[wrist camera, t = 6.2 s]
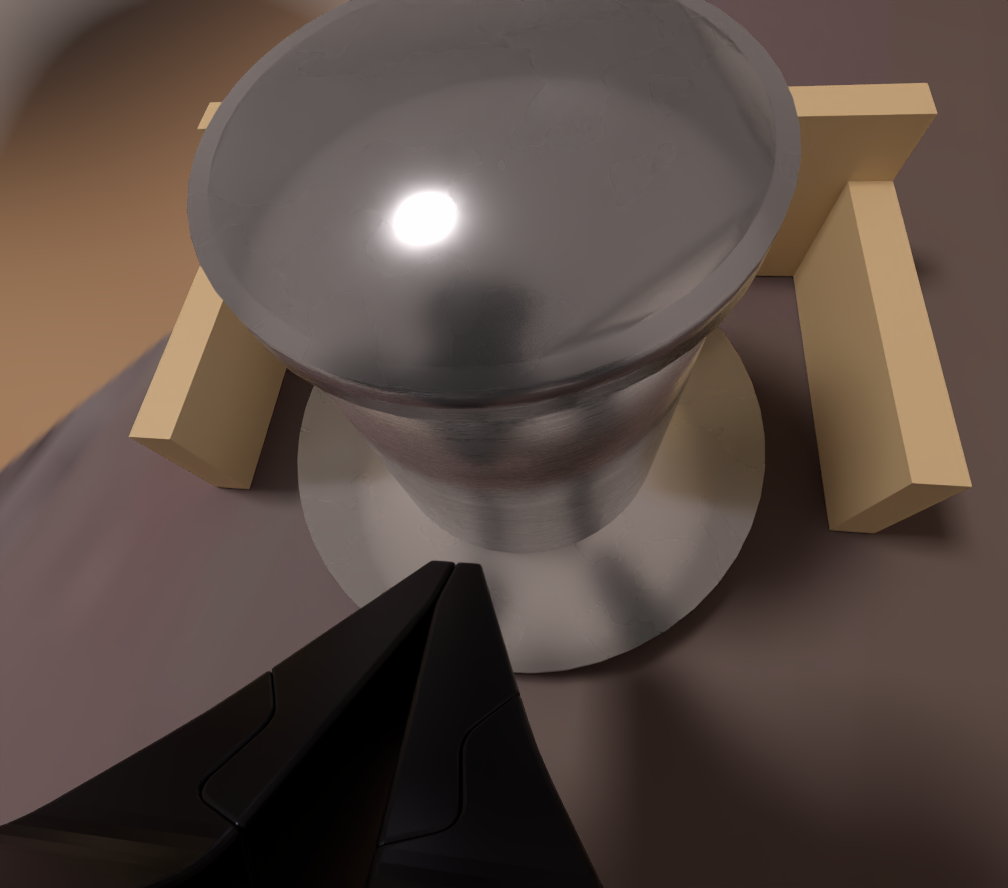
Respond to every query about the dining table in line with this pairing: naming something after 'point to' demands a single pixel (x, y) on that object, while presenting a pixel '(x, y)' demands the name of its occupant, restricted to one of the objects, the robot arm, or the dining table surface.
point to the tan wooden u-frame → (794, 252)
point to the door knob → (511, 294)
